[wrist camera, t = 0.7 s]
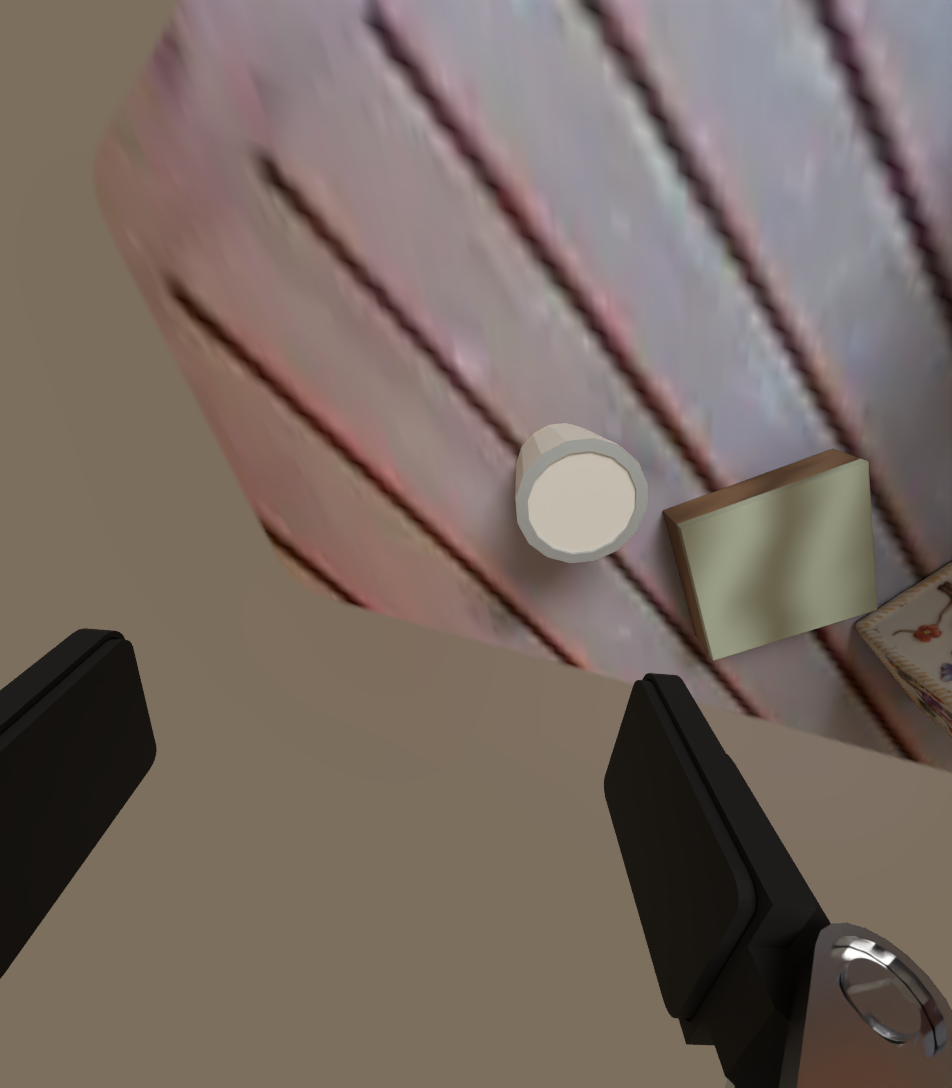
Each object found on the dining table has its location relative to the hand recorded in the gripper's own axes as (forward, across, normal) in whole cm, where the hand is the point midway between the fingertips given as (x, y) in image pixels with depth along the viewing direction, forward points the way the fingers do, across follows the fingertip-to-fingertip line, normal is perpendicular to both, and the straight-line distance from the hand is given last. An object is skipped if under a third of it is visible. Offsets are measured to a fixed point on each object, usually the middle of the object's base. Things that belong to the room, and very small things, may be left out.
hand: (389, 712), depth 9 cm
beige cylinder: (+23, -8, +1) cm, 24 cm away
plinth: (+23, -22, +5) cm, 33 cm away
